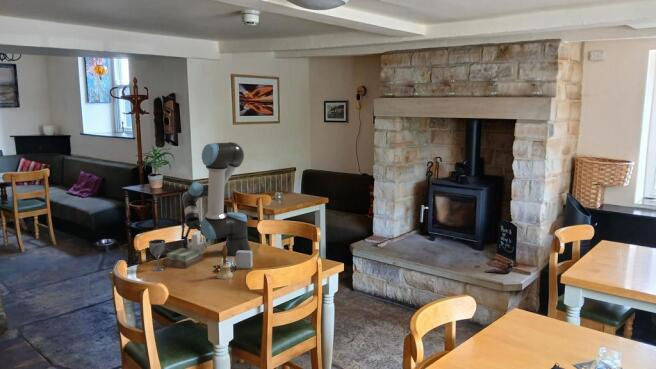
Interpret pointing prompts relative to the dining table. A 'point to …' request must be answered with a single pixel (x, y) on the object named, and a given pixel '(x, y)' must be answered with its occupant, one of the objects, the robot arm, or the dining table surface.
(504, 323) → the dining table surface
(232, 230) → the robot arm
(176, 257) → the tiered stand
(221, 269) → the hand bell
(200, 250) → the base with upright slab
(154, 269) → the wine glass
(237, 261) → the medicine box
